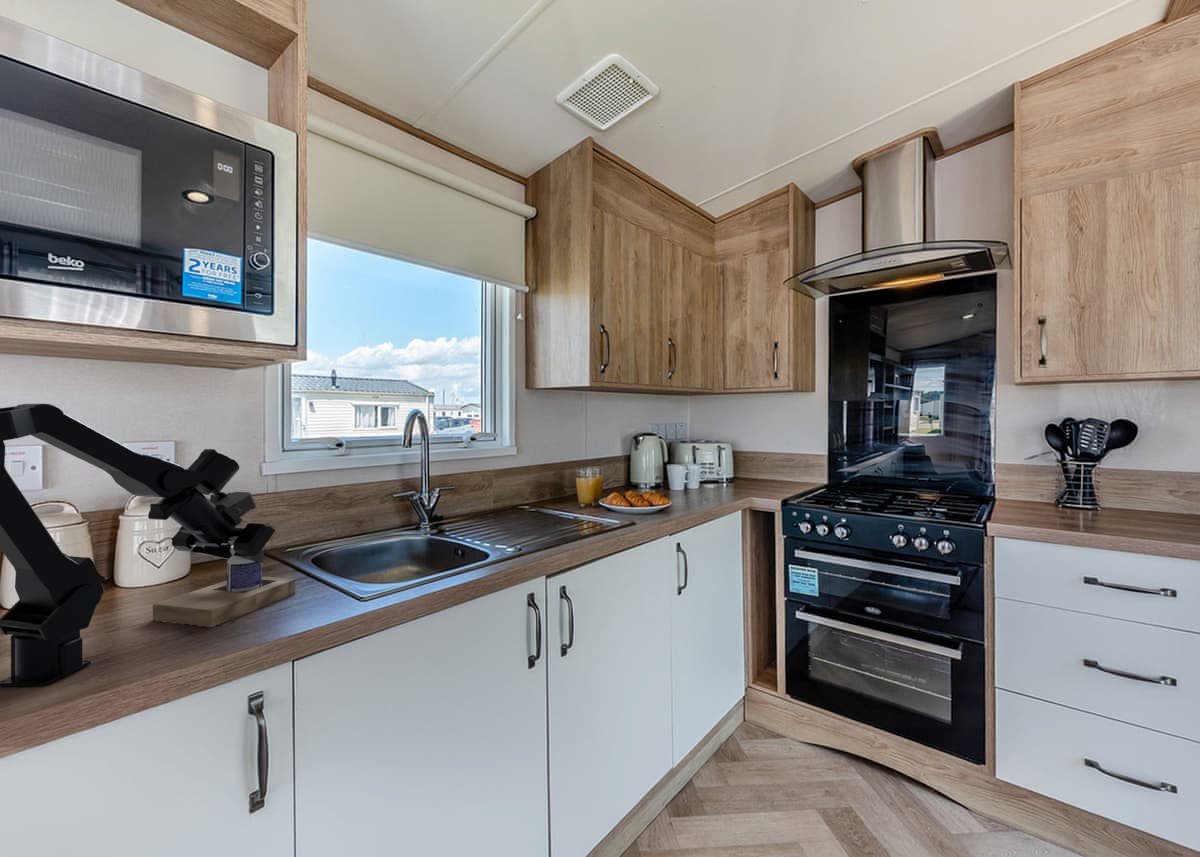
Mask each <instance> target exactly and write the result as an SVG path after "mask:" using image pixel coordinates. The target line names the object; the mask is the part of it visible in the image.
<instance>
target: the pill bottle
mask: <svg viewBox="0 0 1200 857" xmlns="http://www.w3.org/2000/svg"><path fill="white" fill-rule="evenodd" d="M230 553H231V554H232V557H230V558H229V559H227V561H226V581H227V591H230V592H241V593H245V592H248V591H251V590H253V589H256V588H259V587H262V577H263V575H262V574H263V562H262V563H260V562H256V561H252V560H248V559H244V558H241V557H237V556H234V553H235V551H234V550H233V545H232V546H231V548H230Z"/></svg>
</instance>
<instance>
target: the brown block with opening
mask: <svg viewBox="0 0 1200 857" xmlns="http://www.w3.org/2000/svg"><path fill="white" fill-rule="evenodd" d="M295 594H296V578H283V577H273V576H262V587H259V588H256V589H253V590H251V591H248V592H245V593H241V592H230V591H227V580H224V581H220V582H218V583H215V584H212V585H209V586H208V585H207V586H206V587H203V588H199V589H196V590H193V591H190V592H187V593H183V594H180V595H177V596H174V597H171V598H169V599H165V600H162V601H159V602H156V603H153V604H152V621H153V620H156V621H155V622H158V621H165V622H164V623H167V622H175V623H174V624H176V623H182V624H181V625H184V624H190V625H189V626H193V625H197V626H196V627H202V626H205V627H204V628H211V627H212V628H214V627H216V625H217V626H219V625H222V624H223V623H226V622H229V621H231V620H233V619H236V618H239V617H242V616H243V615H245V614H249V613H250V612H253V611H256V610H258V609H261V608H263V607H266V606H268V605H271V604H274V603H276V602H278V601H280V600H283V599H285V597H286V598H288V597H291V596H294V595H295ZM221 623H222V624H221Z"/></svg>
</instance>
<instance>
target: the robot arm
mask: <svg viewBox="0 0 1200 857" xmlns="http://www.w3.org/2000/svg"><path fill="white" fill-rule="evenodd" d="M27 436H28V437H29V436H32V437H34V438H36V439H38V440H40V441H42V442H45V443H47V444H49V445H51V446H53V447H55V448H57V449H58V450H61V451H63V452H65V453H67V454H70V455H71V456H73V457H75V458H78V459H79V460H81V461H84V462H86V463H87V464H90V465H92V466H94V467H96V468H98V469H101V470H103V471H104V472H106V473H107V474H108V475H109V476H111V478H112V480H114V482H115V483H116V484H117V485H119V486H120V487H121V488H123V490H125V491H126V492H128V493H129V494H131V495H133V496H136V497H146V498H147V497H150V498H161V499H160V500H159V501H158V502H156V503H150V505H149V507H150V510H149V511H148V517H147V518H148V519H149V520H158V521H159V520H160V521H167V520H168V519H169V518H171V519H172V520H174V521H175V522H176V523H177V524H179V525H180V526H181V527H180V528H179V529H178V531H177V532H176V533H175V534H174V536H173V537H171V546H172V547H173V548H174V549H175V550H177V551H179V552H180V551H181V552H190V551H191V552H192V553H194V554H199V555H205V556H211V557H215V558H220V559H224V560H228V559H229V558H230V557H232V554H231V553H230V548H231V546H233V550H234V551H235V553H234V556H237V557H241V558H244V559H248V560H252V561H256V562H260V563H262V564H263V562H264V561H265V560H266V557H265V553H264V551H263V548H265V546H266V545H267V543H268V542H269V540H270V539H271V537H272V536H273V535H274V533H275V532H276V529H275V527H274V526H273V525H272V524H271V523H270V522H265V521H264V522H263V521H252V522H249V523H247V524H246V526H244V527H243V528H240V527H237V526H239V525H240V524H241V522H242V521H243V519H242V518H241V517H242V516H244V515H245V514H247V513H248V512H250V511H252V510H254V509H256V507H257V505H256V503H255V500H254V499H253V496H252V493H251V492H247V491H234V492H227V493H226V492H224V491H222V490H223V489H224V488H225V487H226V485H228V483H229V482H230V481H231V480H232V478H233V477H234V476H235V475H236V474H237V473H238V471H239V470H240V465H239V463H238V462H237V461H236V460H235V459H232V458H231V457H229V456H228V455H225V454H223V453H220V452H218V451H216V449H214V448H205V449H203V451H202V452H200V454H199V455H198V457H197V459H195V460H194V462H192V464H191V465H190V466H189V467H188V468H186V469H185V468H184V467H183V466H181V465H180V464H178V463H175V462H171V461H169V460H166V459H163V458H161V457H155V456H153V455H152V456H151V455H148V454H143V453H141V452H137V451H135V450H133V449H131V448H130V447H128V446H126V445H124V444H123V443H120V442H118V441H117V440H115V439H113V438H111V437H109V436H107V435H106V434H103V433H101V432H100V431H99V430H96V429H94V428H93V427H92V426H89V425H87V424H86V423H83V422H81V421H79V420H78V419H76V418H74V417H72V416H70V415H68V414H67V413H65V412H64V411H63V410H62V409H60V408H59V407H57V406H56V405H53V404H50V403H22V404H17V405H15V406H14V405H13V406H7V407H0V550H1V553H2V554H3V555H4V556H5V557H6V559H7V560H8V562H9V563H10V565H12V567H13V568H14V572H15V582H14V589H15V591H16V594H17V596H18V600H17V601H16V602H15V603H14V604H13V605H12V606H11V607H10V608H9V609H8V610H7V611H6V612H5V613H4V614H3V615H2V616H1V617H0V632H1V634H2V635H4V636H7V635H10V676H9V677H6V678H4V679H2V680H0V687H22V686H23V687H26V686H27V687H29V686H31V687H32V686H35V687H36V686H37V687H38V686H48V685H49V684H52V683H53V682H57V681H58V680H60V679H62V678H65V677H66V676H68V675H70V674H72V673H74V672H76V671H78V670H80V669H83V668H85V667H87V666H88V665H90V664H91V663H92V660H91V659H83V637H81V630H84V629H87V628H89V626H90V623H91V621H92V618H93V615H94V614H95V611H96V608H97V606H98V604H99V603H100V601H101V599H102V597H103V595H104V594H105V587H104V585H103V582H102V581H106V578H107V577H104V576H103V575H101V574H100V573H99V572H98V570H97V568H96V566H95V562H94V561H93V560H92V559H91V557H83V556H73V555H72V556H71V555H66V554H64V553H63V551H62V550H61V549H60V547H59V546H58V545H57V543H56V542H55V539H54V538H53V537H52V535H51V534H50V532H48V529H47V528H46V526H45V524H44V523H43V522H42V520H41V519H40V518H39V516H38V515H37V513H36V512H35V510H34V509H33V508H32V506H31V505H30V503H29V502H28V500H27V498H26V496H24V494H23V493H22V492H21V490H20V488H19V487H18V485H17V483H16V482H15V481H14V480H13V478H12V476H11V475H10V474H9V473H8V471H7V469H6V466H5V465H6V464H5V463H6V444H5V442H4V441H11V440H15V439H19V438H24V437H27ZM205 495H206V496H209V495H210V498H208V497H206V496H205ZM230 542H233V543H232V544H233V545H232V544H231V543H230Z"/></svg>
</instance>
